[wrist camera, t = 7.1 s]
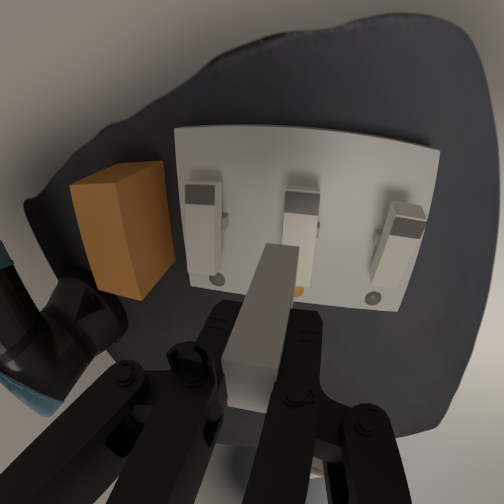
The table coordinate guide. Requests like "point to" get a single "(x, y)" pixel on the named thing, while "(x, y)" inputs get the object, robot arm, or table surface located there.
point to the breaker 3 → (397, 243)
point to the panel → (330, 207)
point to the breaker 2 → (301, 227)
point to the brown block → (125, 226)
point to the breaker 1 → (203, 226)
